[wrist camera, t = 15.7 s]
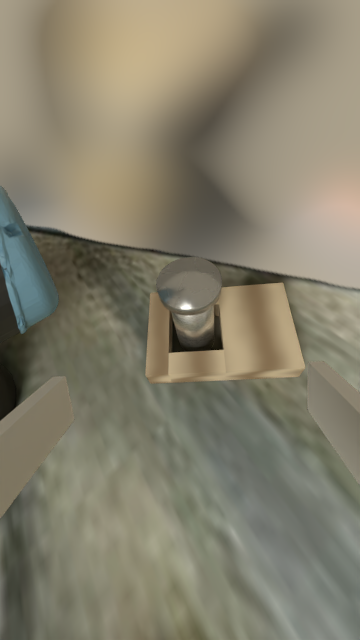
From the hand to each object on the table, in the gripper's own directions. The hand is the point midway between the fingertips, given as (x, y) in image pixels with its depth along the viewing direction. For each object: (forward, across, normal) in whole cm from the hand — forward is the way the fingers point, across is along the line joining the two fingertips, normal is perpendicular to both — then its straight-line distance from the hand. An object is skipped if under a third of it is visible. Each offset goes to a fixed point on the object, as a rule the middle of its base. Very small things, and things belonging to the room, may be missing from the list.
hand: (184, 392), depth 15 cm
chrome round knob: (+22, 0, -4) cm, 22 cm away
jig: (+22, +3, -4) cm, 23 cm away
